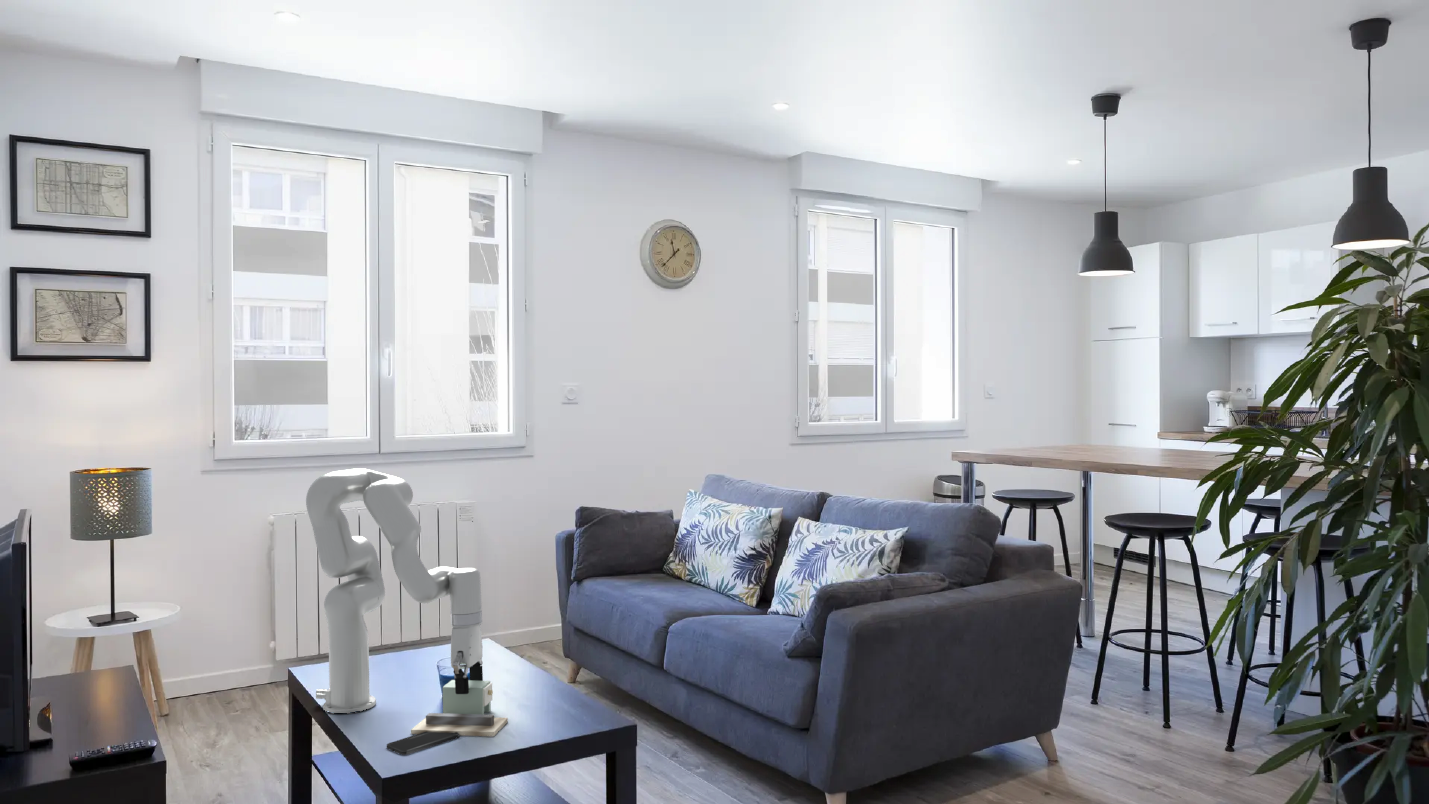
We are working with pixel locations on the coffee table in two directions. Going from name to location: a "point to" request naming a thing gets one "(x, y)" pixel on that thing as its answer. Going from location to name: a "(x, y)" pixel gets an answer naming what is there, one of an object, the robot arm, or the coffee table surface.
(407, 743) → the phone
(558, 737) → the coffee table surface
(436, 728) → the board
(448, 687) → the mint green box
